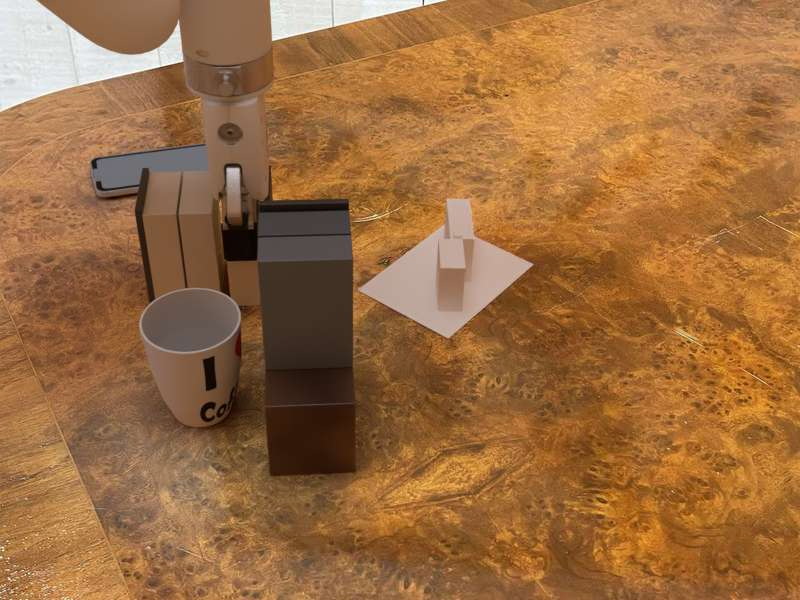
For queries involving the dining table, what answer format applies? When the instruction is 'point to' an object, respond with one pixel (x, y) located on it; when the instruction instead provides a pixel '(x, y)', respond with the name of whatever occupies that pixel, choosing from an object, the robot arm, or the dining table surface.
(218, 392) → the cup
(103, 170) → the smartphone
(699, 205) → the dining table surface
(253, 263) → the tan rectangular block
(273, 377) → the dark brown box
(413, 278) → the napkin holder
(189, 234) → the slotted desk organizer
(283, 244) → the grey books
